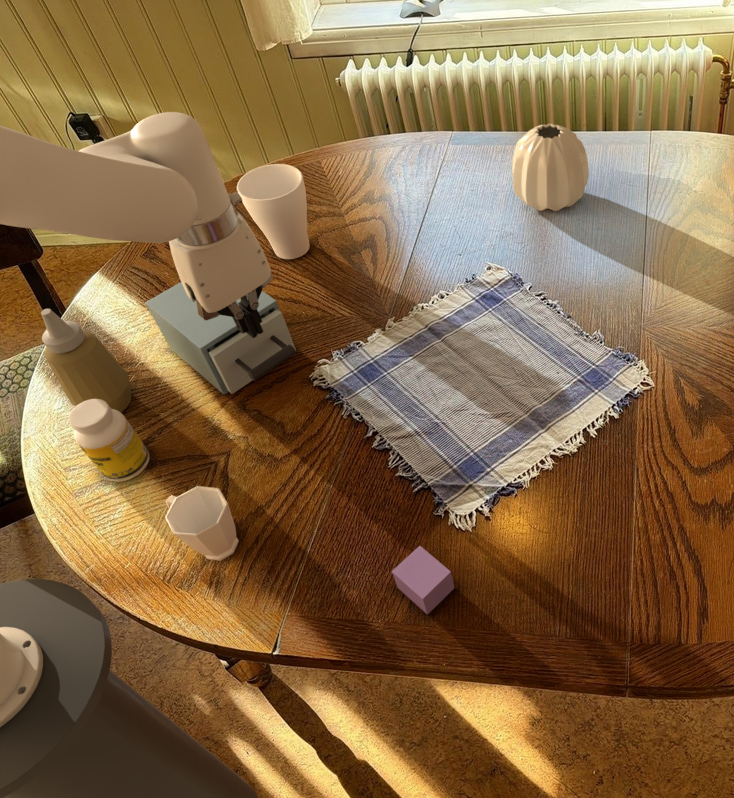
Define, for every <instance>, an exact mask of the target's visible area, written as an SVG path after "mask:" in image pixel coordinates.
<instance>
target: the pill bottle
mask: <svg viewBox="0 0 734 798" xmlns="http://www.w3.org/2000/svg"><path fill="white" fill-rule="evenodd" d="M68 422H69V424H70V426H71V427H72V428H73V438H74V440H75V442H76V444H77V445H78V447H79V448H80V449H81V451H82V452H83V453H84V454H85V455H86V457H88V459H89V460H90V461H91V463H92V464H93V465H94V466H95V467H96V469H97V470H98V471H99V473H100V474H101V475H102V476H103V477H104V478H105V479H107V480H109V481H111V482H117V483H118V482H119V483H120V482H121V483H122V482H126V481H129V480H131V479H133V478H136V477H137V476H139V475H140V474H141V473H142V472H143V471H145V469H146V468H147V466H148V465H149V462H150V452H149V449H148V448H147V447H146V445H145V443H144V442H143V441H142V439H141V438H140V436H139V435H138V434H137V432H136V431H135V429H134V428H133V426H132V425H131V424H130V422H129V421H128V419H127V418H126V416H125V415H124V414H123V413H122V412H121V413H120V412H119V411H117V410H115V409H111V408H110V407H109V405H108V404H107V403H106V402H105V401H103V400H101V399H90V400H87V401H84V402H82V403H80V404H78V405H77V406H74V407H73V408H72V409H71V411H70V413H69V415H68Z"/></svg>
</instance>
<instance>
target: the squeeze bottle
mask: <svg viewBox="0 0 734 798" xmlns="http://www.w3.org/2000/svg"><path fill="white" fill-rule="evenodd" d="M40 314H41V318H42V320H43V322H44V325H45V328H46V329H45V330H44V331H43V333H42V336H41V341H42V343H43V344H44V346H45V350H44V354H43V355H44V357H45V361H46V362H47V364H48V365H49V367H50V369H51V371H52V373H53V374H54V376H55V378H56V379H57V381H58V383H59V384H60V387H61V388H62V390H63V392H64V393H65V395H66V398H67V399H68V400H69V402H70V404H72V406H74V407H76V406H77V405H78V404H80V403H82V402H84V401H87V400H90V399H101V400H103V401H105V402H106V403H107V404H108V405H109V407H110V408H111V409H115V410H117V411H119V412H120V413H122V412H123V411H125V410H126V409H127V408H128V406H129V405H130V404H131V400H132V391H131V383H130V382H131V381H130V377H129V375H128V373H127V371H126V370H125V368H123V366H122V365H121V363H119V362H118V361H117V359H116V358H115V357H114V356H113V354H112V353H111V352H110V351H109V350H108V349H107V348H106V346H105V345H104V344H103V343H102V342H101V340H99V338H98V337H97V335H95V333H93V332H91V331H90V330H85V329H82V327H81V326H80V324H79V323H78V322H76V321H73V320H63V319H62V318H61V317H60V316H59V315H57V314H56V312H54V311H53V310H52V309H51V308H45V309H42V310H41V311H40Z"/></svg>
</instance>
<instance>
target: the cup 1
mask: <svg viewBox="0 0 734 798" xmlns="http://www.w3.org/2000/svg"><path fill="white" fill-rule="evenodd" d="M165 504H166V506H167V508H168V511H167V512H166V515H165V517H164V518H165V520H166V523H167V524H168V526H169V528H170V531H171V533H172V534H173V535H174V536H175V537H177V538H178V539H179V540H181V541H182V542H183V543H184V544H186V545H187V546H188V547H189V548H190V549H191V550H193V551H194V552H197V553H198V554H201V555H202V556H205V558H206V559H207V560H210V561H222V560H225V559H226V558H228V557H230V556H231V555H233V554H234V553H235V550H236V549H237V547H238V545H239V541H240V540H239V539H238V537H237V530H236V524H235V521H234V518H233V515H232V511H231V508H230V505H229V502H228V500H226V497H225V495H224V494H223V492H222V491H221V489H220V487H210V486H201V485H197V486H194V487H193V488H191V489H189V490H188V491H186V492H184V493H182V494H180V495H178V496H175V495H173V494H171V495H170V496H168V498H167V499H165Z"/></svg>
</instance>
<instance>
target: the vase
mask: <svg viewBox="0 0 734 798" xmlns="http://www.w3.org/2000/svg"><path fill="white" fill-rule="evenodd" d="M511 164H512V167H511V172H512V187H513V192H514V195H515V196H516V197H517V198H519V200H521V201H522V202H523V204H525V205H526V206H528V207H532V208H534V209H536V210H537V211H540V212H543V211H545V210H548V209H549V210H551V211H553V212H558V211H560V210H562V209H563V208H570V207H572V206H573V205H574V204H576V203H578V201H579V200H580V199H581V198H582V197H583V196H584V193H585V188H586V187H587V185H588V181H589V174H590V173H589V172H590V170H589V162H588V157H587V151H586V148H585V146H584V143H583V142H582V141H581V140H580V139H579V138H578V137H577V134H576V133H575V132H573V131H572V130H571V129H569V128H567V127H565V126H563V125H559V124H555V123H547V124H539V125H537V126H535V127H533V128H531V129H529V130H528V131H527V132H526V133H525V134H524V135H523V136H521V137H520V138H519V139H518V141H517V142H516V144H515V146H514V150H513V156H512V163H511Z"/></svg>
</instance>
